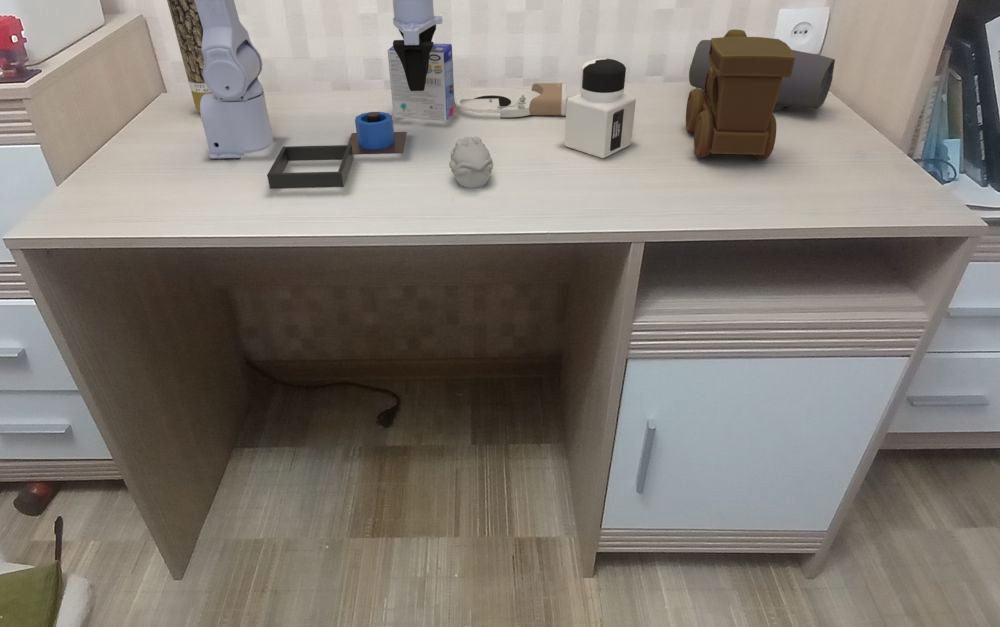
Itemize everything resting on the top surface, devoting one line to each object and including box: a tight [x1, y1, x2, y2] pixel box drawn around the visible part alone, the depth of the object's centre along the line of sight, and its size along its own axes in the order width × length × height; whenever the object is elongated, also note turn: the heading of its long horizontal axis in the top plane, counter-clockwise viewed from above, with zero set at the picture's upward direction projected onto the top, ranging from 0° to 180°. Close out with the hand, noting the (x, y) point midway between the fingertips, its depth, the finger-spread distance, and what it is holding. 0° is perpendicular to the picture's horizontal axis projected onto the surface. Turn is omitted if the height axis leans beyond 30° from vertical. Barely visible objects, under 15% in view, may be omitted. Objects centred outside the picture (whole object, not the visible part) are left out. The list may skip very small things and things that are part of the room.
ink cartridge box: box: [387, 43, 456, 121], centre depth 118 cm, size 10×6×14 cm, turn 78°
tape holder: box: [347, 111, 408, 156], centre depth 110 cm, size 9×9×6 cm
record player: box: [454, 82, 567, 118], centre depth 126 cm, size 12×3×20 cm
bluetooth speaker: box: [688, 39, 836, 111], centre depth 124 cm, size 23×9×10 cm, turn 55°
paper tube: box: [166, 0, 212, 114], centre depth 120 cm, size 7×7×25 cm
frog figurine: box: [448, 136, 494, 189], centre depth 98 cm, size 6×7×7 cm
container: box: [564, 58, 637, 159], centre depth 108 cm, size 8×8×13 cm
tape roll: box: [354, 111, 395, 149], centre depth 110 cm, size 6×6×4 cm
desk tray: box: [266, 144, 354, 190], centre depth 102 cm, size 10×10×3 cm
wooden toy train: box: [685, 29, 795, 160], centre depth 106 cm, size 20×11×17 cm, turn 175°
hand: (418, 82), depth 107 cm, fingers open, 7 cm apart
